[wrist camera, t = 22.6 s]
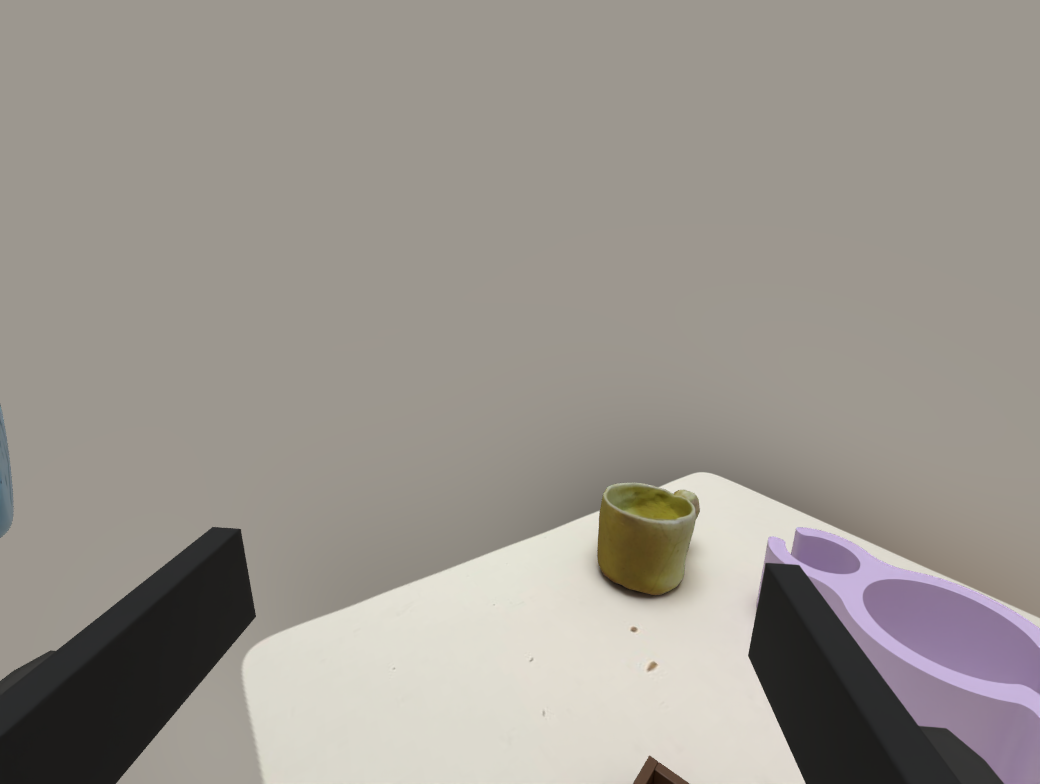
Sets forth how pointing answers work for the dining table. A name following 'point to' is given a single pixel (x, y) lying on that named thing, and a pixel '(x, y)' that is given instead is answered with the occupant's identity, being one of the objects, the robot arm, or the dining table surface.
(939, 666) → the clip
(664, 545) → the mug
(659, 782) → the brown square tray
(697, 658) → the dining table surface
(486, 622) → the dining table surface
